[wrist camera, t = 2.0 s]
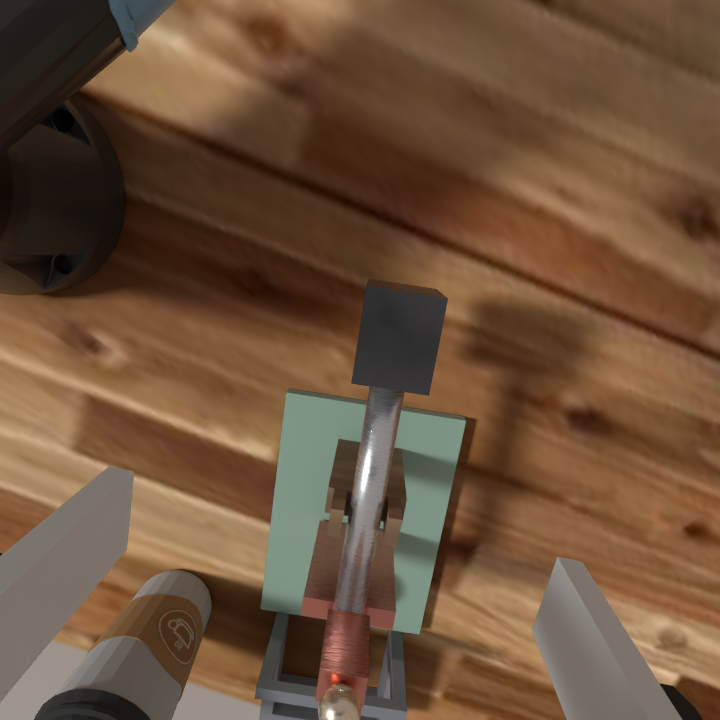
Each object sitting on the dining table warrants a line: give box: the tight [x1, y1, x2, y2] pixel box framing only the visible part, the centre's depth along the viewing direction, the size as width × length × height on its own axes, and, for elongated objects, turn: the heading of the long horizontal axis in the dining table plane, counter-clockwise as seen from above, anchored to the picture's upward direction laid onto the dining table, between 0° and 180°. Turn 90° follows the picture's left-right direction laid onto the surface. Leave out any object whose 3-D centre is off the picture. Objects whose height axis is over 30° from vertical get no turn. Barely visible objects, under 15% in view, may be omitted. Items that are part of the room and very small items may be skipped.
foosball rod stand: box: [301, 279, 448, 720], centre depth 29 cm, size 22×6×16 cm, turn 171°
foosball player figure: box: [325, 439, 407, 547], centre depth 33 cm, size 2×5×11 cm, turn 81°
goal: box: [255, 612, 407, 720], centre depth 39 cm, size 8×11×8 cm
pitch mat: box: [260, 389, 466, 634], centre depth 40 cm, size 20×14×1 cm
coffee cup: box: [34, 570, 212, 720], centre depth 36 cm, size 8×8×15 cm
